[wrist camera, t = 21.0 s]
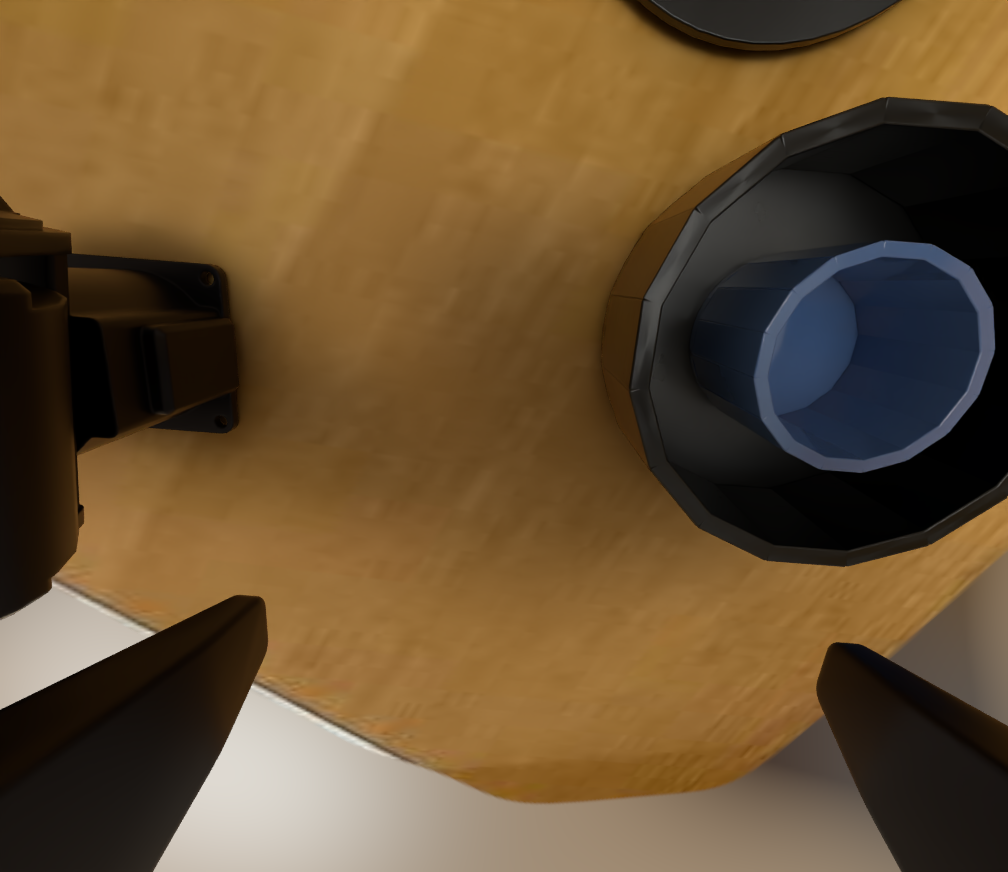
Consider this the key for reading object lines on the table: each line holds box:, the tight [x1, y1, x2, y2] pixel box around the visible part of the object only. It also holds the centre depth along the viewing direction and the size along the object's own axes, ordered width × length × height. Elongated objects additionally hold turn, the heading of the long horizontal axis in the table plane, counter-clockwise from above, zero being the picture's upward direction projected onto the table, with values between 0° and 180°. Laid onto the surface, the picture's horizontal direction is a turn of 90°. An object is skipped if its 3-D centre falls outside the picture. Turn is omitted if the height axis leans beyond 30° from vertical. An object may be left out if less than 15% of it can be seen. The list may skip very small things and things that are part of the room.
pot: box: [601, 97, 1008, 567], centre depth 17 cm, size 13×13×6 cm
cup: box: [690, 240, 995, 473], centre depth 16 cm, size 6×6×6 cm
